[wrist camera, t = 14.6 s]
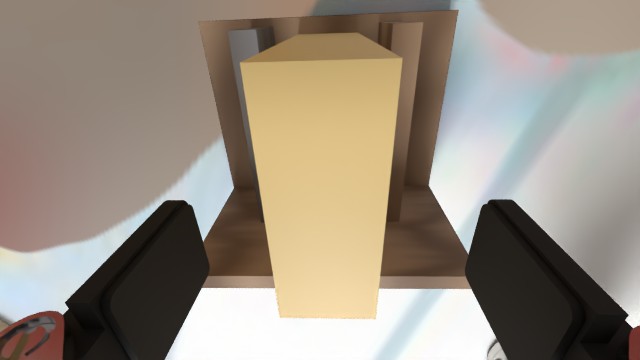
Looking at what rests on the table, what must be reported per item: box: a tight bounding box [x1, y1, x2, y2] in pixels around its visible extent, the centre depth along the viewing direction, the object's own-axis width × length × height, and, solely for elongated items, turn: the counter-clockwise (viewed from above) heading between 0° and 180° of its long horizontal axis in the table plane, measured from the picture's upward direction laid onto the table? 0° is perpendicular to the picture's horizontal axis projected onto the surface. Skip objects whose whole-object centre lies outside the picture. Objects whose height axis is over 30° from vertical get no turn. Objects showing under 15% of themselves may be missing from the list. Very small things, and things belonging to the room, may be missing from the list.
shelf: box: [198, 10, 471, 289], centre depth 18 cm, size 17×14×12 cm
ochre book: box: [240, 32, 403, 319], centre depth 16 cm, size 4×10×14 cm, turn 2°
